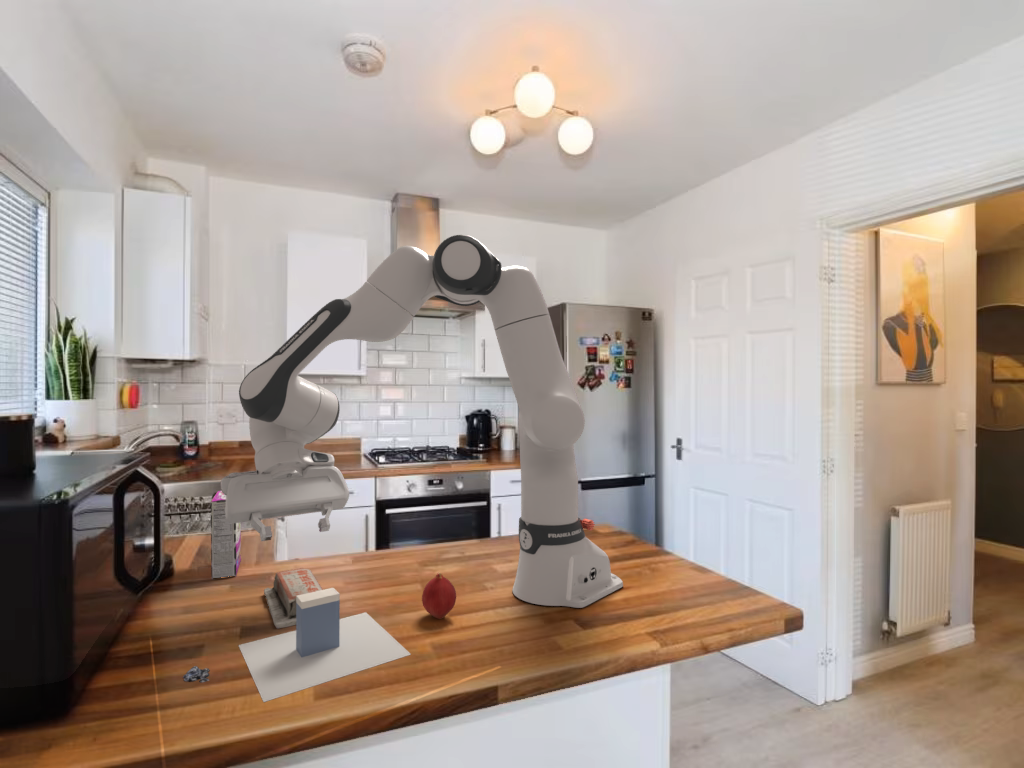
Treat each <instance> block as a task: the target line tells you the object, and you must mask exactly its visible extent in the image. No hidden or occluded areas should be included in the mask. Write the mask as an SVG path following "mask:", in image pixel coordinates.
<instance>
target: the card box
mask: <svg viewBox="0 0 1024 768" xmlns="http://www.w3.org/2000/svg"><path fill="white" fill-rule="evenodd" d="M340 596H341V594H340V592H339V591H337V589H335V588H334V587H329V588H326V589H324V588H323V590H320V591H315V592H311V593H306V594H302V595H297V596H296V625H295V628H296V629H295V630H296V650H297V651H298V653H299V654H300V656H301V657H305V656H309V655H312V654H316V653H319V652H323V651H326V650H329V649H333V648H336V647H339V630H340V619H341V617H340V612H341V611H340V607H341V606H340V604H341V603H340V601H341V599H340Z"/></svg>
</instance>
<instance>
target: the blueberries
mask: <svg viewBox="0 0 1024 768" xmlns="http://www.w3.org/2000/svg"><path fill="white" fill-rule="evenodd" d="M210 671H211V670H210V669H209V668H207V667H206V668H203V669H201V668H199V667H198V666H197V665H195V666H194V665H193V666H192V667H191V668H190V669H189V670H188V671H187V672H186V674H183V676H182V679H183V681H184V682H188V683H194V682H196V681H198V680H199V683H205V682H209V681H210V679H209V676H210V673H209V672H210Z"/></svg>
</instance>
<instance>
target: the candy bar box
mask: <svg viewBox="0 0 1024 768" xmlns="http://www.w3.org/2000/svg"><path fill="white" fill-rule="evenodd" d="M225 503H226V495H224V494H223V493H222V491H221V490H218V491H217V492H216V493H215V495H214V496H213V498H212V499H211V501H210V555H211V556H210V557H211V559H210V567H211V569H210V571H211V573H210V575H211V576H210V577H211V580H214V579H213V578H221V577H228V576H229V577H228V578H231V577H230V576H235V577H237V574H238V571H239V568H240V565H241V561H242V557H241V556H242V545H241V544H242V543H241V542H242V541H241V540H242V539H241V537H242V534H241V527H242V525H241V523H242V522H241V523H230V522H229V521H228V520H226V517H225ZM221 579H222V578H221Z"/></svg>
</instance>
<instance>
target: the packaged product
mask: <svg viewBox="0 0 1024 768" xmlns="http://www.w3.org/2000/svg"><path fill="white" fill-rule="evenodd" d="M320 590H324V588H323V587H322V586H321V584H320V582H319V581H318V579H317V578H316V576H315V575H314V573H313V571H312V570H311V569H309V568H304V567H300V568H294V569H287V570H284V571H283V570H282V571H279V572H276V573H275V576H274V580H273V587H270V588H269V587H266V588H264V590H263V593H264V597H265V596H266V597H265V599H267V600H266V603H267V604H268V605H267V604H266V605H267V607H268V606H269V608H268V610H269V613H270V615H271V618H272V622H273V625H274V626H275V628H276V629H282V628H284V629H285V628H289V627H292V626H296V596H297V595H302V594H306V593H311V592H315V591H320Z"/></svg>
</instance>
